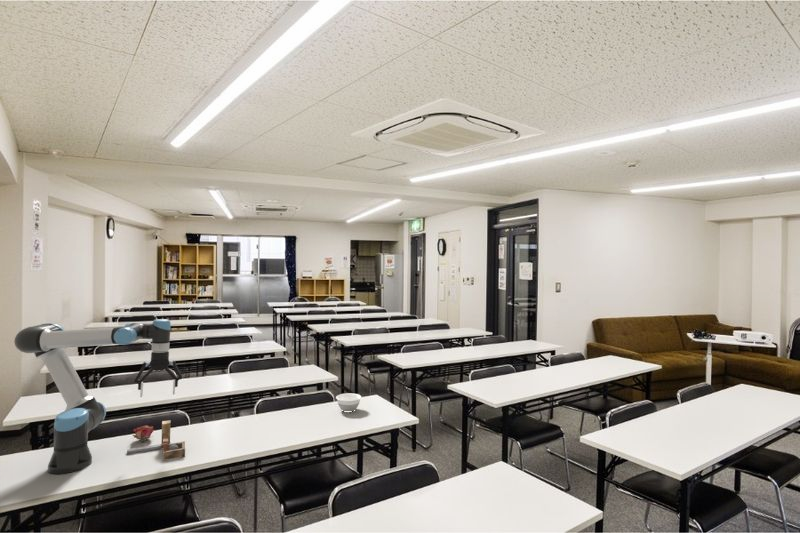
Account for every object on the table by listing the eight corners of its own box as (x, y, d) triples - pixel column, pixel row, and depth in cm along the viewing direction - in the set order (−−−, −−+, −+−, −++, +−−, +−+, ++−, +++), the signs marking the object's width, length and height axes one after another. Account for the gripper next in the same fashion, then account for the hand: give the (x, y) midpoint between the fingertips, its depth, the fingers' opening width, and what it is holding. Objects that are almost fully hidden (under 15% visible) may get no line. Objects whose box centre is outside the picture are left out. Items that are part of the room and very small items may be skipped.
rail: (126, 454, 193) (126, 451, 193) (127, 452, 195) (127, 449, 195) (170, 447, 202) (170, 444, 202) (170, 445, 204) (171, 442, 204)
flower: (156, 438, 208) (157, 422, 212) (136, 440, 201) (136, 423, 205) (148, 445, 212) (149, 430, 216) (128, 447, 206) (129, 431, 210)
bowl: (332, 413, 253) (332, 399, 253) (340, 405, 269) (340, 392, 269) (357, 415, 251) (357, 401, 251) (364, 407, 266) (364, 394, 266)
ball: (178, 454, 193) (167, 457, 191) (178, 451, 197) (168, 453, 195) (178, 445, 193) (167, 447, 191) (178, 441, 197) (167, 444, 195)
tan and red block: (160, 456, 190) (161, 431, 191) (161, 445, 203) (162, 421, 203) (169, 455, 192) (170, 429, 192) (170, 443, 205) (170, 420, 205)
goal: (163, 460, 188) (163, 452, 188) (163, 452, 197) (163, 444, 197) (184, 456, 192) (185, 448, 192) (184, 448, 201) (184, 441, 201)
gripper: (129, 353, 193) (126, 399, 192) (189, 351, 205) (186, 394, 204) (130, 351, 199) (128, 395, 199) (188, 348, 211) (186, 390, 211)
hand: (157, 395), depth 201 cm, fingers open, 13 cm apart
